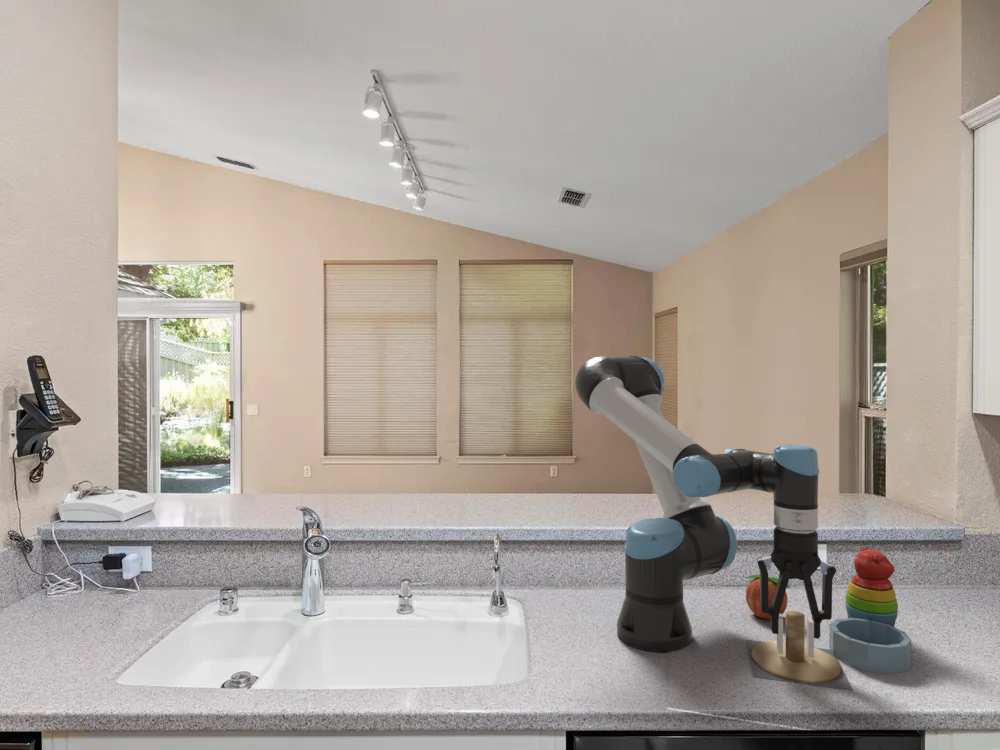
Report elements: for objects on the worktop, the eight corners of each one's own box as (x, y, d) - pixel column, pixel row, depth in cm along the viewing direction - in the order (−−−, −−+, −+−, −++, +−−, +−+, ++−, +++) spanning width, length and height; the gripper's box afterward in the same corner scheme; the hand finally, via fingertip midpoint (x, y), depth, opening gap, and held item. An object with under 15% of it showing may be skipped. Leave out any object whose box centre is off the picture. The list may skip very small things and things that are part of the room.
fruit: (777, 628, 133) (777, 582, 133) (735, 614, 141) (735, 570, 141) (796, 618, 139) (796, 573, 139) (755, 605, 146) (755, 563, 146)
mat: (753, 678, 112) (753, 676, 112) (745, 640, 127) (745, 639, 127) (853, 692, 107) (853, 690, 107) (833, 651, 123) (833, 649, 123)
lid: (755, 676, 112) (755, 625, 112) (748, 640, 127) (748, 595, 127) (849, 688, 108) (849, 635, 108) (830, 650, 122) (831, 603, 122)
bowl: (838, 668, 116) (838, 641, 115) (824, 639, 128) (824, 614, 128) (920, 679, 112) (920, 651, 112) (897, 647, 124) (897, 622, 124)
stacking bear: (911, 649, 123) (912, 559, 123) (855, 645, 125) (856, 556, 125) (889, 627, 134) (889, 544, 134) (837, 623, 136) (838, 541, 136)
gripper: (746, 530, 116) (746, 654, 116) (853, 537, 111) (852, 668, 111) (743, 520, 123) (743, 638, 123) (843, 527, 118) (842, 649, 118)
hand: (794, 652), depth 117 cm, fingers open, 4 cm apart
